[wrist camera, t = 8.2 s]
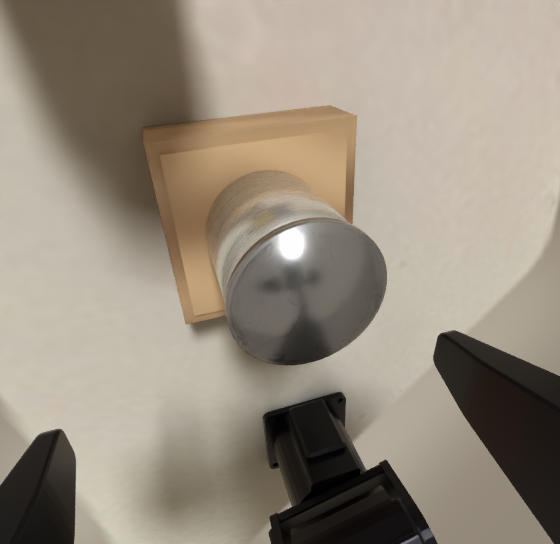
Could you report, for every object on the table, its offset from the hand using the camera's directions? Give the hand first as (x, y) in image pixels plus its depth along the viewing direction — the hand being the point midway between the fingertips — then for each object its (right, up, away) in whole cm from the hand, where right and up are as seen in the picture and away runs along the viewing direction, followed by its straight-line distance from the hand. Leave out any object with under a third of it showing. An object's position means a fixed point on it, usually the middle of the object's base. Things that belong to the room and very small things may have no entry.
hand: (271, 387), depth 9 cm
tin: (-1, +5, +9) cm, 10 cm away
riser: (-1, +6, +12) cm, 13 cm away
